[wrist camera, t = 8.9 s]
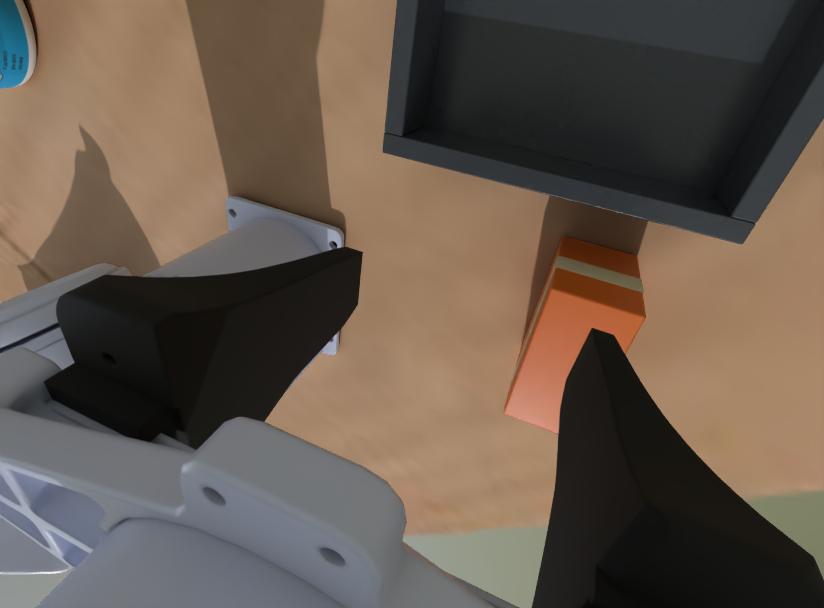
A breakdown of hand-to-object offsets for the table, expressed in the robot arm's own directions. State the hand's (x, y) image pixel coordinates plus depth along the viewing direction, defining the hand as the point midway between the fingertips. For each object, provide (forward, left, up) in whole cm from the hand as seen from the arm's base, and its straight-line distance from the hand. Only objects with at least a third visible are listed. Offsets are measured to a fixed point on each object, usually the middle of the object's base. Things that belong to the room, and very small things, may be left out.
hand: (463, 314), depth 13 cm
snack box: (-4, -4, -9) cm, 11 cm away
